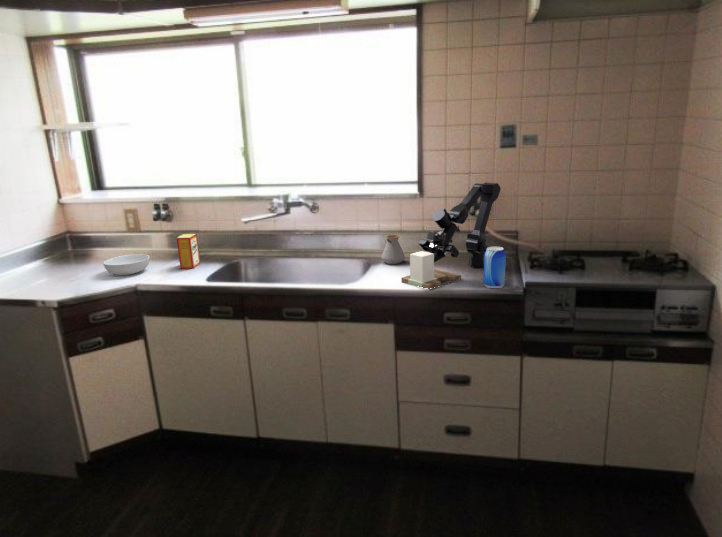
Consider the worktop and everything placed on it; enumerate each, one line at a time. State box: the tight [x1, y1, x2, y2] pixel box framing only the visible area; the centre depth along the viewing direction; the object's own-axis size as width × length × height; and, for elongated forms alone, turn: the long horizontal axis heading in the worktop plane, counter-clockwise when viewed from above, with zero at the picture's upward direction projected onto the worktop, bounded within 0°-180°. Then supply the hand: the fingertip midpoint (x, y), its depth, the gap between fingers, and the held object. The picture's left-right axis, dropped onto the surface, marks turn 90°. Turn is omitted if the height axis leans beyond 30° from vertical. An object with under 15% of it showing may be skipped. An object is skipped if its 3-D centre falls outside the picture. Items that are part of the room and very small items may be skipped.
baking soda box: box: [176, 233, 201, 270], centre depth 264 cm, size 10×6×16 cm
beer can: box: [483, 246, 507, 289], centre depth 215 cm, size 8×8×16 cm
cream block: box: [409, 250, 435, 283], centre depth 222 cm, size 7×7×11 cm
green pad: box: [407, 278, 437, 288], centre depth 224 cm, size 9×8×2 cm
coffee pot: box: [381, 234, 406, 265], centre depth 253 cm, size 21×12×15 cm, turn 168°
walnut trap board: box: [400, 268, 462, 289], centre depth 227 cm, size 20×16×2 cm
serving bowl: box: [102, 253, 151, 276], centre depth 259 cm, size 21×21×7 cm
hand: (429, 264), depth 225 cm, fingers closed
